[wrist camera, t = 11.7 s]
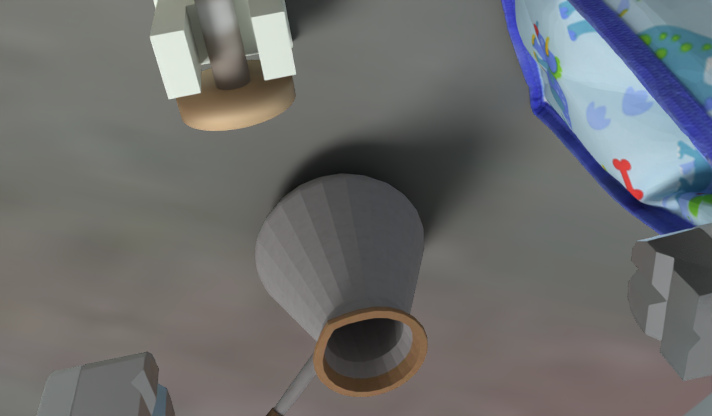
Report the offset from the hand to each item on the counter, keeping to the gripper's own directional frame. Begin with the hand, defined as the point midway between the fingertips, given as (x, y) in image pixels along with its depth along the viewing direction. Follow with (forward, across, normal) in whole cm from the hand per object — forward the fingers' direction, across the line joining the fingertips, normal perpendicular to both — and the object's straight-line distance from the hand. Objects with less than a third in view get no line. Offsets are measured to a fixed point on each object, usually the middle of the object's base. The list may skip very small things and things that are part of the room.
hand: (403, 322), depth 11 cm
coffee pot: (+31, +3, +22) cm, 38 cm away
